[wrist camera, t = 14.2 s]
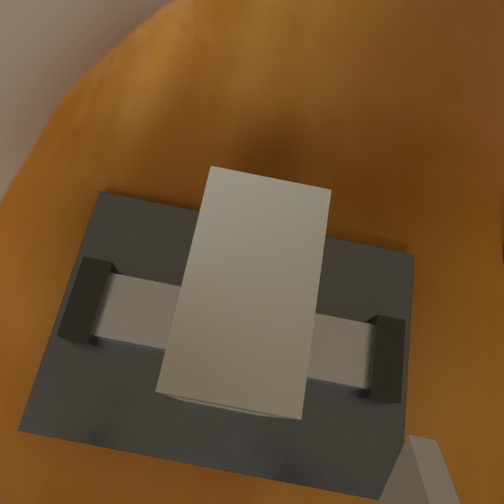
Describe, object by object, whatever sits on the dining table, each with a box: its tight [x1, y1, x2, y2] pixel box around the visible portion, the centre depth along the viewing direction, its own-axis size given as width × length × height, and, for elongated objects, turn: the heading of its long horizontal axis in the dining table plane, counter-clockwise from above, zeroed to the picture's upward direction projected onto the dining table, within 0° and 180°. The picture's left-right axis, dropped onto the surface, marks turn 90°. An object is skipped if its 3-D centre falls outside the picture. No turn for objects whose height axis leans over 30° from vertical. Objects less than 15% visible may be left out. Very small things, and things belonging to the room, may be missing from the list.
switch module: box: [155, 166, 331, 420], centre depth 20 cm, size 9×4×11 cm, turn 170°
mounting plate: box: [18, 191, 414, 500], centre depth 25 cm, size 20×14×3 cm
